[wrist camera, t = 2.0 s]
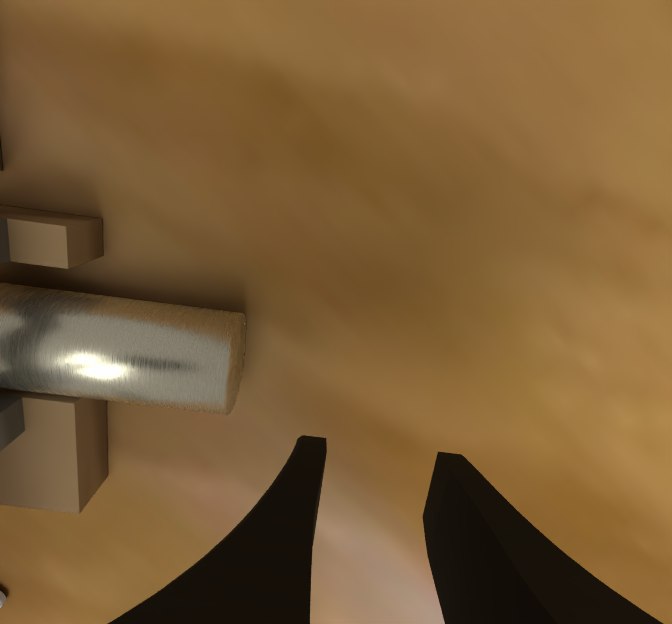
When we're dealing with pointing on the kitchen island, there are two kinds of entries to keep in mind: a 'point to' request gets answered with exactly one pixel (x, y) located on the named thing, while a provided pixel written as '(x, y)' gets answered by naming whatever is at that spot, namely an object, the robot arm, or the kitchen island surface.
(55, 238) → the bearing block
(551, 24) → the kitchen island surface
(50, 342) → the axle
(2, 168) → the cradle
